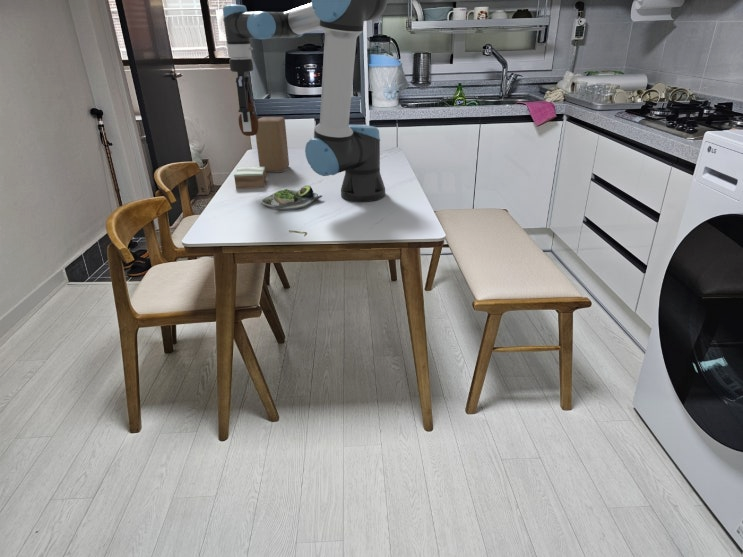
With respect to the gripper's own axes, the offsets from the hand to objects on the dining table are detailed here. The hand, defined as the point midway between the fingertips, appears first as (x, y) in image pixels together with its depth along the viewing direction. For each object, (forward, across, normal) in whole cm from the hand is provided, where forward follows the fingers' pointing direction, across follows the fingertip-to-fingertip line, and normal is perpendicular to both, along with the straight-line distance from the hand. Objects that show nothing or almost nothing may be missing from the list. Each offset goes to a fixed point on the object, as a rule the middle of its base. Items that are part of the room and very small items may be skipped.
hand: (249, 129), depth 172 cm
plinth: (+20, -1, +1) cm, 20 cm away
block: (+20, +19, -5) cm, 28 cm away
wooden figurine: (+2, 0, 0) cm, 2 cm away
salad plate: (+20, -24, -15) cm, 34 cm away
